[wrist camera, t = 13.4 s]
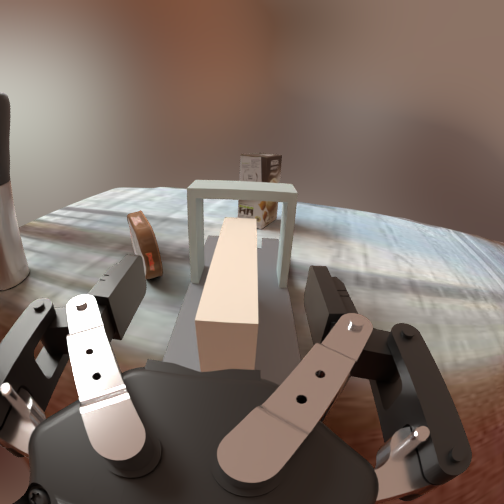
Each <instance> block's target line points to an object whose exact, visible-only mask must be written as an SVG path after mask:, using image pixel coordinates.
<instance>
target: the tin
mask: <svg viewBox="0 0 504 504" xmlns="http://www.w3.org/2000/svg"><path fill="white" fill-rule="evenodd" d="M127 221H128V224H129V227H130V233H131V242H132V246H133V249H134V253H135V255H140V256H141V257H142V259H143V265H144V272H145V278H146V279H151V278H155V277H158V276H162V275H163V269H162V262H161V257H160V252H159V248H158V244H157V240H156V237H155V234H154V232H153V229H152V227H151V225H150V223H149V222H148V220H147V219H146V217H145V216H144V214H143V212H142V211H141V210H140V211H139V212H135V213H131V214H128V215H127Z"/></svg>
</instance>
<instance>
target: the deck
mask: <svg viewBox="0 0 504 504" xmlns="http://www.w3.org/2000/svg"><path fill="white" fill-rule="evenodd" d="M218 238H219V236H208V238H207V240H206V243H205V245H204V261H205V266H204V269H203V272H202V275H201V278H200V281H199V284H195V283H191V282H190V284H189V287H188V290H187V292H186V295H185V298H184V301H183V303H182V306H181V309H180V312H179V314H178V317H177V320H176V323H175V326H174V329H173V331H172V334H171V337H170V340H169V343H168V346H167V349H166V352H165V355H164V358H163V361H162V362H169V363H175V364H178V365H181V366H184V367H187V368H190V369H193V370H196V371H199V372H201V370H200V362H199V354H198V346H197V337H196V327H195V317H196V314H197V310H198V307H199V303H200V299H201V296H202V292H203V289H204V285H205V282H206V278H207V275H208V272H209V268H210V265H211V261H212V258H213V255H214V251H215V248H216V245H217V241H218ZM278 249H279V240H278V239H269V238H262V248H257V274H258V334H257V346H256V357H255V368H254V370H260V375H261V378H262V379H266V380H269V381H272V382H274V383H276V384H278V385H281V384H282V383H283V382H284V381H285V379H286V378H287V377H288V376H289V375H290V374H291V373H292V371H293V370H294V369H295V368H296V367H297V365H298V364H299V363H300V362H301V358H300V352H299V346H298V341H297V335H296V329H295V323H294V318H293V312H292V307H291V301H290V296H289V291H288V285H287V288H279V284H278V277H277V270H276V268H277V258H278Z"/></svg>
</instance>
